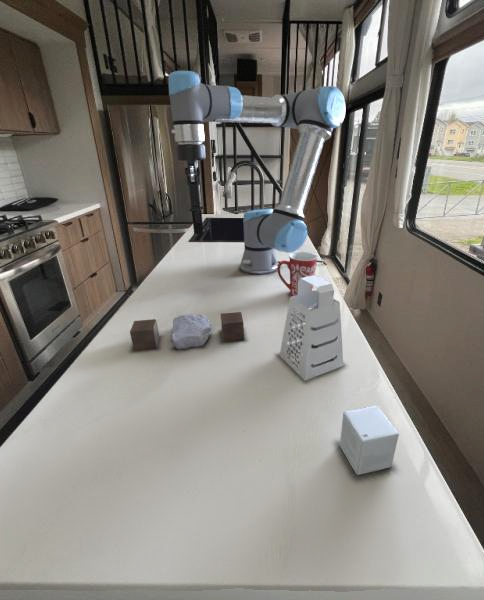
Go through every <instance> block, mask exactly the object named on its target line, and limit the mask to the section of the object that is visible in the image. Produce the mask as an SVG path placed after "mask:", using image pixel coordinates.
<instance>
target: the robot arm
mask: <svg viewBox="0 0 484 600" xmlns="http://www.w3.org/2000/svg"><path fill="white" fill-rule="evenodd" d="M167 80H168V83H167V84H168V96H169V102H170V110H171V116H172V117H171V118H172V125H173V129H171V131H170V132H171V134H173V135H174V142H175V143H177V144H176V146H175V152H176V153H175V155H176V160H178V161H180V162H183V161H184V162H185V161H186V166H187V167H185V168H184V174H185V176H186V184H187V186H188V191H189V199H190V208H189V209H188V211H189V212H191V216H192V217H191V218H192V228H193V234H194V235H202V234H204V222H203V213H202V210H204V206H202V203H201V194H200V185H201V176H200V175H201V167H198V166H197V161H204V160H206V156H207V155H206V146H205V145H204V144H203V143H204V142H205V131H204V123H249V124H250V123H251V124H254V123H255V124H270V125H272V126H273V127H278V128H279V127H280V128H281V127H282V128H287V129H295V130H297V131H298V133H299V136H298V139H297V143H296V146H295V149H294V153H293V156H292V160H291V162H290V166H289V170H288V173H287V177H286V180H285V183H284V187H283V190H282V194H281V197H280V200H279V203H278V204H277V206H275V207H273V208H261V209H252V210H247V211H246V212H244V214H243V218H242V219H243V220H242V224H243V243H244V244H243V245H244V250H243V254H242V258H241V261H240V270H241V271H243V272H245V273H247V274H253V275H265V274H271V273H275V271H277V267H278V264H279V262H281V261H279V260H278V257H277V254H276V252H275V250H277V251H278V252H281V253H287V254H291V253H294V252H297V251H298V250H300V249H301V248H302V246H303V245H304V244H305V242H306V239H307V237H308V230H307V228H308V227H307V224H306V223H305V220H306V216H305V214H304V209H305V205H306V202H307V199H308V195H309V192H310V189H311V185H312V183H313V179H314V176H315V173H316V170H317V166H318V163H319V160H320V156H321V154H322V150H323V147H324V145H325V144H324V143H325V141H327V140H330V139H331V137H332V134H333V130H334V129H336V128H338V127H340V126H341V125H342V124H343V122H344V119H345V117H346V108H347V107H346V101H345V97H344V95H343V93H342V91H341V90H340V89H339V88H338V87H337V86H334V85H329V86H326V85H323V86H321V87H316V88H311V89H306V90H299V91H295V92H291V93H286V94H274V95H273V96H272V97H269V96H268V97H267V96H257V95H256V96H255V95H242V93H241V91H240V90H239V89H238V88H237V87H234V86H229V85H215V84H205V83H201V79H200V75H199V74H198V73H197V72H195V71H193V70H176V71H172V72H170V73H169V75H168V79H167ZM322 262H323V263H322ZM316 263H321V264H322V265H324V266H328V264H327V263H326V262H325V261H323V260H317V261H316ZM285 265H286V266H287V264H285Z"/></svg>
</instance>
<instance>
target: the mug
mask: <svg viewBox="0 0 484 600" xmlns="http://www.w3.org/2000/svg"><path fill="white" fill-rule="evenodd" d="M288 258H289V261H288V260H281V261H280V262H279V263H278V267H277V270H276V271H277V275H278V277H279V278H280V280H281V282H282V283H283V284H284V285H285V286H286V288H287V289H288V290H289V292H290V293H289V294H290V297H291V296H295V295H298V281H299V279H300V278H303V277H308V276H312V275H316V269H317V268H316V267H317V262H316V261H318V258H319V257H318V254H316V253H314V252H309V251H295V252H291V253H289V255H288ZM286 264H287V265H286ZM283 265H286V266H287V267H288V270H289V283H288V282H287V281H286V280H285V278H284V277H283V275H282V274H281V267H282V266H283ZM311 291H314V285H312V287H311Z"/></svg>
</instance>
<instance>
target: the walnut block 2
mask: <svg viewBox="0 0 484 600" xmlns="http://www.w3.org/2000/svg"><path fill="white" fill-rule="evenodd" d="M220 325H221V326H220V328H221V336H222V343H228V342H239V341H245V332H244V331H245V328H244V326H245V325H244V318H243V314H242V311H234V312H222V313H220Z"/></svg>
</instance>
